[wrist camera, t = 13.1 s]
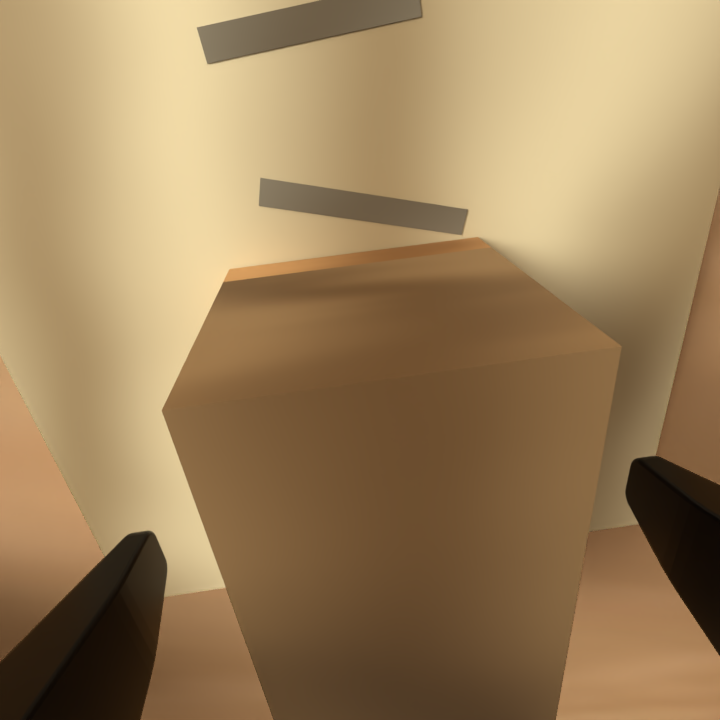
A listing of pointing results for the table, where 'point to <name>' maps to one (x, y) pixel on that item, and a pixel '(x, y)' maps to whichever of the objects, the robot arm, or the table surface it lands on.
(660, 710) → the table surface
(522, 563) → the block
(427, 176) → the pine board
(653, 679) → the table surface
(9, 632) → the table surface
